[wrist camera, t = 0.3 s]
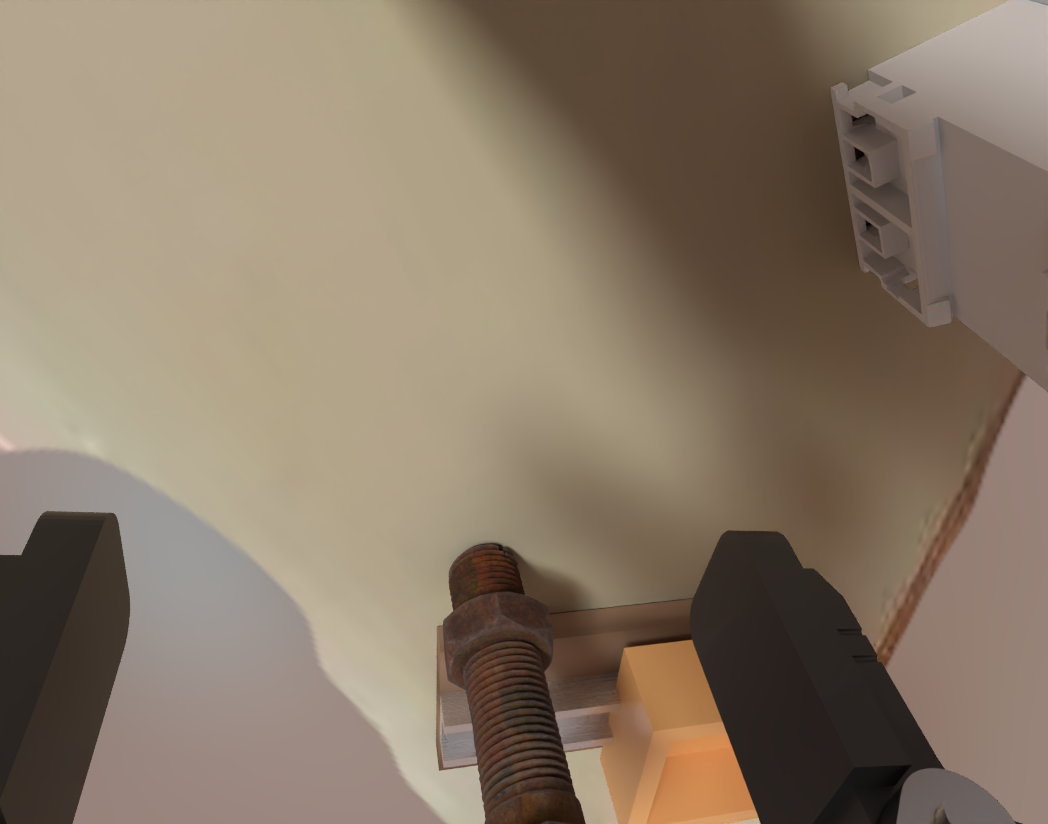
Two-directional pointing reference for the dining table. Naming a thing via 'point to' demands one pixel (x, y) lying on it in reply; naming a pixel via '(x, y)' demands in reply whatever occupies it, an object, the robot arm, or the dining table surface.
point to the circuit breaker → (959, 178)
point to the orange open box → (671, 744)
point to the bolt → (507, 690)
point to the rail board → (592, 643)
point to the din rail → (575, 706)
